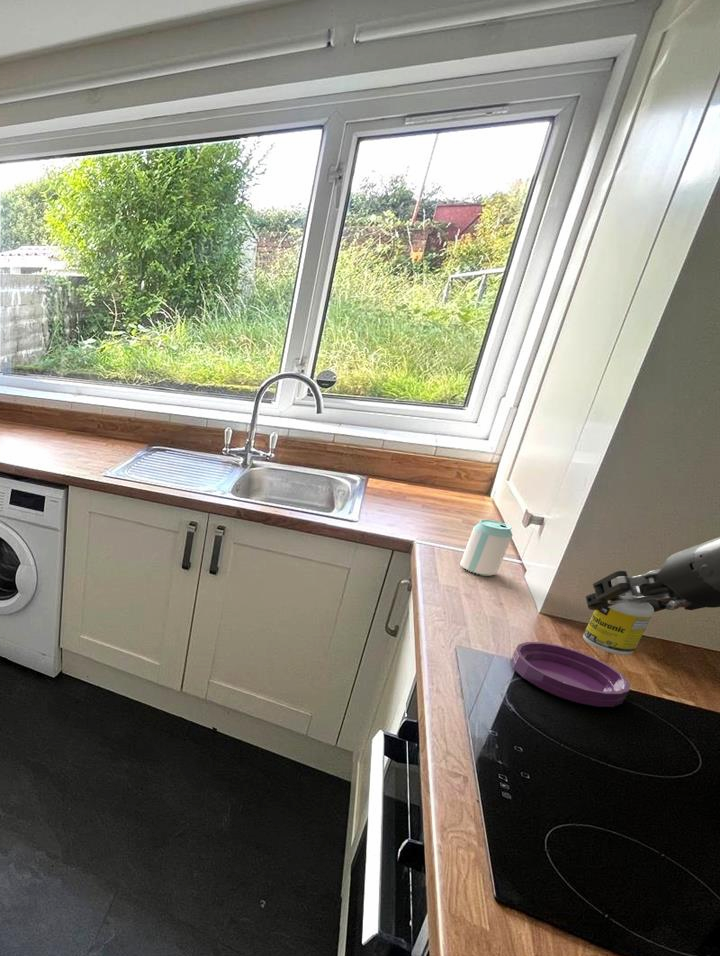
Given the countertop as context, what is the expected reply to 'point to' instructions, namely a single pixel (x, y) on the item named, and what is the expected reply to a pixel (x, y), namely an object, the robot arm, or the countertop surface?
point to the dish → (570, 674)
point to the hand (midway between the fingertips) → (613, 605)
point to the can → (486, 547)
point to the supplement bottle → (619, 626)
